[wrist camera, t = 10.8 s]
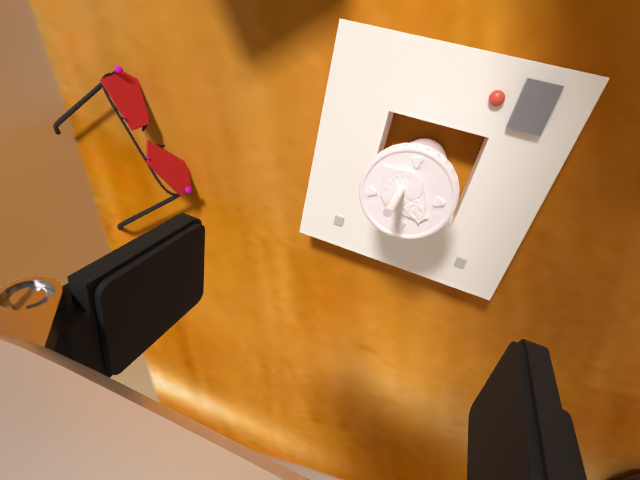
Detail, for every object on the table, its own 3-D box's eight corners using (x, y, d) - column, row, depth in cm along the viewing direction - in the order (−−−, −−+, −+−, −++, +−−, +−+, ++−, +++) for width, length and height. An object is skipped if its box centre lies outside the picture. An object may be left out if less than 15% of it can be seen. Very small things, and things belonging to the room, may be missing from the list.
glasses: (207, 185, 42) (177, 200, 38) (122, 229, 50) (89, 245, 46) (137, 62, 38) (96, 64, 34) (58, 130, 46) (17, 138, 42)
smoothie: (435, 104, 30) (410, 137, 18) (479, 170, 31) (480, 241, 19) (372, 150, 33) (316, 203, 22) (412, 208, 34) (379, 289, 23)
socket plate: (351, 21, 30) (337, 17, 27) (596, 75, 26) (612, 78, 23) (310, 220, 39) (296, 234, 36) (488, 282, 35) (490, 304, 32)
